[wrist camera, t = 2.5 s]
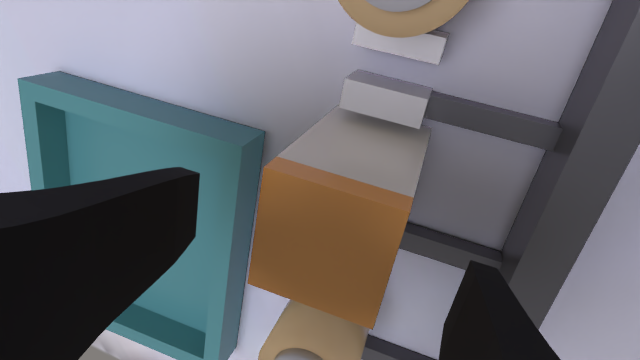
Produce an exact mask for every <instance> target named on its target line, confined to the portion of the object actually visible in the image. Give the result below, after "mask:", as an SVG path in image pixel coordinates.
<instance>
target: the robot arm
mask: <svg viewBox="0 0 640 360" xmlns="http://www.w3.org/2000/svg"><path fill="white" fill-rule="evenodd" d="M199 181H200V173H198V172H195V171H192V170H188V169H185V168H182V167H172V168H164V169H158V170H152V171H147V172H141V173H136V174H131V175H126V176H121V177H115V178H110V179H105V180H100V181H93V182H87V183H81V184H75V185H69V186H63V187H56V188H49V189H40V190H31V191H20V192H9V193H0V360H78V359H79V358H80V357H81V356H82V355H83V353H84V352H85V351H86V350H87V349H88V348H89V347H90V345H91V344H92V343H93V342H94V341H95V340H96V339H97V337H98V336H99V335H100V334H101V333H102V332H103V331H104V330H105V329H106V328H107V327H108V326H109V325H110V324H111V323H112V322H113V321H114V320H115V319H116V318H117V317H118V316H119V315H120V314H122V313H123V312H124V311H125V310H126V309H127V308H128V307H129V306H130V305H131V304H132V303H133V302H134V301H136V300H137V299H138V298H139V297H140V296H141V295H142V294H143V293H144V292H145V291H146V290H147V289H148V288H149V287H151V286H152V285H153V284H154V283H155V282H156V281H157V280H158V279H159V278H160V277H161V276H162V275H163V274H164V273H165V272H166V271H167V270H168V269H169V268H171V267H172V266H173V265H174V264H175V262H176V261H177V260H178V259H179V257H180V256H181V255H182V254H183V253H184V251H185V250H186V249H187V247H188V246H189V245H190V244H191V242H192V241H193V240H194V238H195V237H196V225H197V211H198V196H199ZM439 360H560V359H559V357H558V356H557V355H556V353H555V352H554V351H553V350H552V348H551V347H550V346H549V344H548V343H547V342H546V340H545V339H544V337H543V336H542V335H541V333H540V332H539V330H538V329H537V328H536V326H535V325H534V323H533V322H532V320H531V319H530V317H529V316H528V315H527V313H526V312H525V310H524V309H523V307H522V306H521V304H520V302H519V301H518V299H517V298H516V296H515V295H514V293H513V292H512V290H511V289H510V287H509V285H508V284H507V282H506V281H505V279H504V278H503V276H502V275H501V273H500V272H499V270H498V269H497V268H495V267H492V266H488V265H485V264H482V263H479V262H476V261H473V260H470V262H469V265H468V267H467V270H466V272H465V275H464V277H463V279H462V282H461V284H460V287H459V289H458V292H457V294H456V296H455V299H454V301H453V304H452V306H451V309H450V311H449V313H448V316H447V318H446V321H445V323H444V327H443V334H442V341H441V348H440V355H439Z"/></svg>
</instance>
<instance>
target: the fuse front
mask: <svg viewBox="0 0 640 360" xmlns="http://www.w3.org/2000/svg"><path fill="white" fill-rule="evenodd" d="M338 1H339V3H340V4H341V6H342V7H343V9H344V10H345V11H346V12H347V14H348V15H349V16H350V17H351V18H352V19H353V20H354V21H356V22H357V23H358V24H359V25H361V26H362V27H364V28H365V29H367V30H369V31H371V32H374V33H376V34H379V35H383V36H387V37H394V38H405V37H414V36H418V35H421V34H425V33H427V32H430V31H432V30H434V29H436V28H438V27H440V26H442V25H443V24H445V23H446V22H447V21H449V20H450V19H452V18H453V17H454V16H455V15H456V14H457V13H458V12H459V11H460V10H461V9H462V8H463V7H464V6H465V4H466V3H467V2H468V1H469V0H338Z"/></svg>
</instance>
